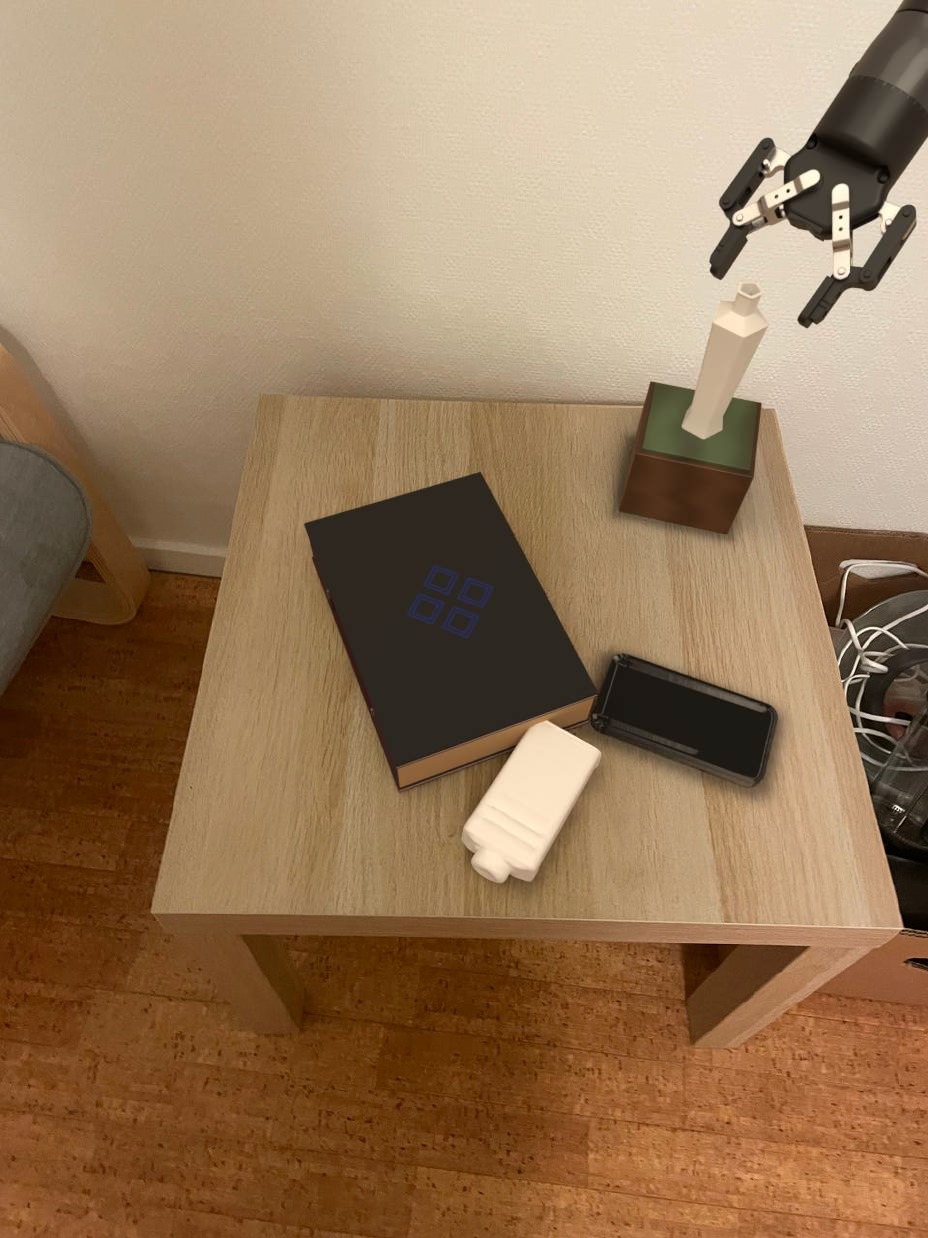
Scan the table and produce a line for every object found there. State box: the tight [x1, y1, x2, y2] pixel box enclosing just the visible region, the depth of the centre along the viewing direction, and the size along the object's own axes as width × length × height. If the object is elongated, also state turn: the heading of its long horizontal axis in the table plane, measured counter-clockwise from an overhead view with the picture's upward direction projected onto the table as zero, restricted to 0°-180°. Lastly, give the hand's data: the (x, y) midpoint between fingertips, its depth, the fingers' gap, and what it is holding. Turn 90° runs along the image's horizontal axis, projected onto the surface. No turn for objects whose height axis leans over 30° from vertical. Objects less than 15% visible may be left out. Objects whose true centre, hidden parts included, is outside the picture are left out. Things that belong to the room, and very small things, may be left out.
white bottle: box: [460, 720, 602, 884], centre depth 67 cm, size 6×13×4 cm, turn 148°
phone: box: [590, 652, 779, 788], centre depth 73 cm, size 8×1×15 cm
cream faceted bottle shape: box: [682, 280, 769, 439], centre depth 74 cm, size 5×4×15 cm
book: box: [303, 471, 599, 794], centre depth 75 cm, size 17×25×7 cm
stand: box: [619, 380, 763, 535], centre depth 84 cm, size 11×10×9 cm
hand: (757, 299), depth 69 cm, fingers open, 8 cm apart
